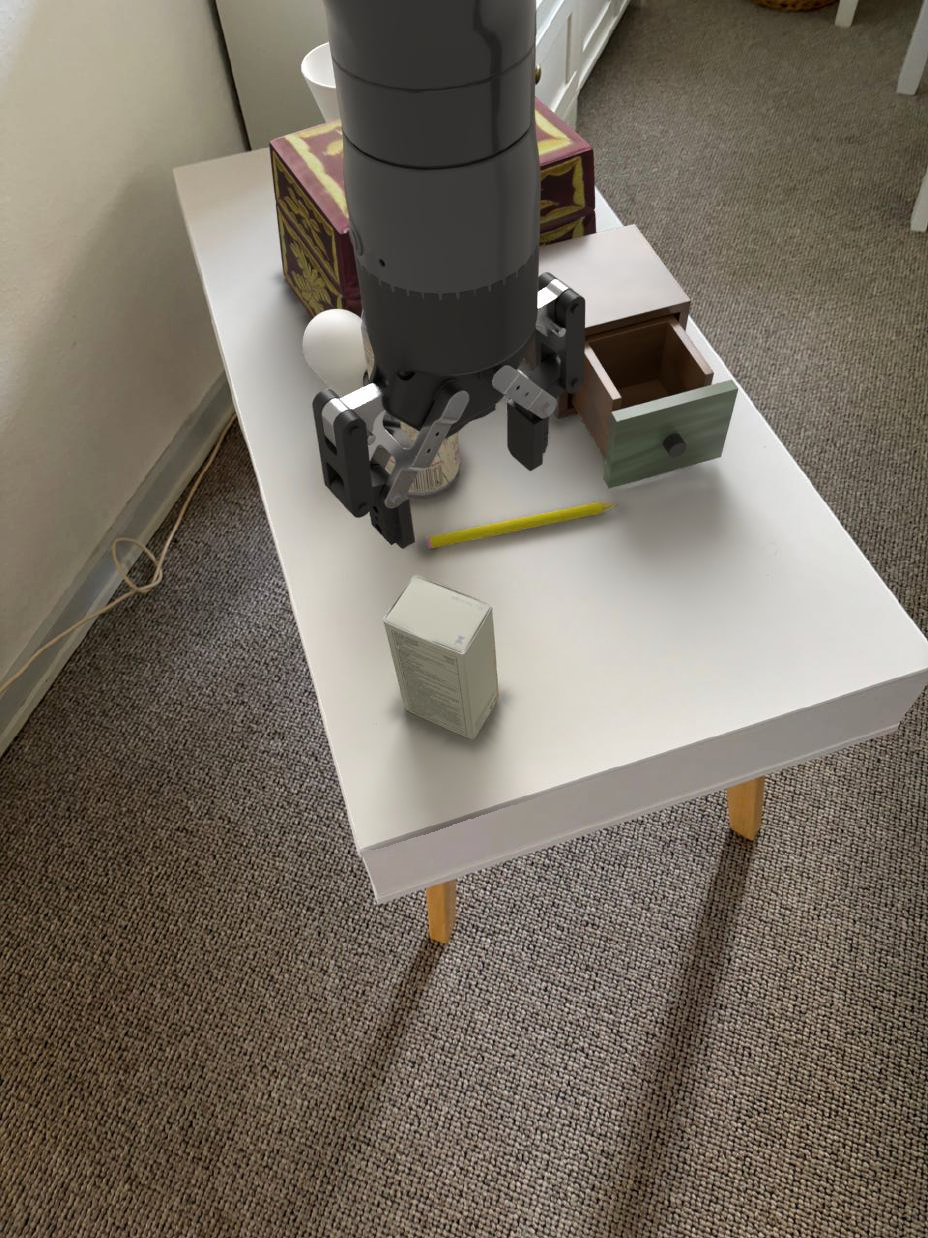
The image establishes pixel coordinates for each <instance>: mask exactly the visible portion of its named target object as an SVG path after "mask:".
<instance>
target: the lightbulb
mask: <svg viewBox="0 0 928 1238" xmlns="http://www.w3.org/2000/svg"><path fill="white" fill-rule="evenodd" d="M361 324H362V319H361V318H360V317H358V316H357V315H356V314H354V313H352V312H350V311H347V310H343V309H331V310H327V311H324V312H321V313H320V314H318V315H317V316H315V317H314V318H312V319H311V320H310V322H309V323H308V324H307V325H306V328H305V329H304V332H303V333H304V334H303V337H302V353H303V356H304V359H305V361H306V364H307V365H308V367H309V368H310V369H311V370H312V371H313V372H314V373H315V374H316V375H317V377H319V378H321V379H322V380H323V382H324V383H325V385H326V387H327V389H331V390H333V391H334V392H335V393H336V394H337V395H338V396H339V397H340V398H342V397H344V396H346V395H349V394H351V393H353V392H355V391H357V390H359V389H361V388H363V387H364V376H365V375H364V373H365V371H366V369H367V364H366V358H365V351H364V345H363V339H362V332H361Z"/></svg>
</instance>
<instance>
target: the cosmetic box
mask: <svg viewBox="0 0 928 1238" xmlns="http://www.w3.org/2000/svg"><path fill="white" fill-rule="evenodd" d="M493 613H494V612H493V606H492V604H490V603H488V602H486V601H483V600H481V599H479V598H476V597H474V596H471V595H469V594H466V593H464V592H462V591H459V590H457V589H454V588H451V587H449V586H446V585H443V584H441V583H439V582H436V581H433V580H430V579H428V578H425V577H422V576H420V575H416V574H414V575H413V576H412V577H411V578H410V580H409V581H408V583H407V584H406V585H405V586H404V588H403V590H402V591H400V594H399V595H398V596H397V598H396V599H395V601H394V602H393V603H392V605H391V606H390V607H389V609H388V610H387V612H386V614H385V615H384V616H383V618H382V621H383V626H384V629H385V634H386V637H387V641H388V646H389V650H390V655H391V658H392V663H393V667H394V672H395V676H396V679H397V684H398V687H399V691H400V696H401V700H402V704H403V707H404V710H406V711H408V712H410V713H412V714H414V715H416V716H418V717H421V718H422V719H423V720H427V721H428V722H431V723H433V724H435V725H437V726H440V727H442V728H444V729H446V730H448V731H451V732H452V733H455V734H457V735H460V736H462V737H464V738H467V739H469V740H473V741H475V739H476V737H477V736H478V734H479V733H480V731H481V729H482V728H483V726H484V725H485V722H486V721H487V719H488V718H489V716H490V714H491V712H492V710H493V709H494V707H495V705H496V703H497V701H498V699H499V698H500V694H499V693H500V692H499V680H498V678H499V677H498V666H497V652H496V650H497V649H496V638H495V628H494V627H495V624H494V614H493Z"/></svg>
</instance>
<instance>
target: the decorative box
mask: <svg viewBox="0 0 928 1238" xmlns="http://www.w3.org/2000/svg"><path fill="white" fill-rule="evenodd" d="M535 122H536V136H537V143H538V150H539V160H540V173H541V194H540V239H539V247H541V246H545V245H549V244H553V243H558V242H562V241H566V240H570V239H574V238H578V237H582V236H587V235H591V234H595V233H597V215H596V182H595V180H596V179H595V177H596V176H595V154H594V148H593V147H592V145H590V144H589V143H588V142H587V141H586V139H584V138H583V137H582V136H581V135H579V134H578V133H577V132H576V131H575V129H573V128H572V127H570V126H569V124H567V123H566V122H565V121H564V120H563V119H562V118H560V116H558V115H557V114H556V113H555V112H554V111H553V110H551V108H550V107H548V105H546V104H545V103H543V101H542V100H541V99H539V98H538V97H537V96H536V95H535ZM268 146H269V147H268V148H269V157H270V166H271V173H272V174H271V175H272V185H273V193H274V201H275V211H276V221H277V231H278V239H279V247H280V249H279V250H280V258H281V267H282V273H283V277H284V279H286V282H287V283H288V285H289V286H290V288H291V289H292V290H293V292H294V294H295V295H296V296H297V298H298V300H299V301H300V302H301V303H302V305H303V306H304V308H305V309H306V311H307V312H308V314H309V315H310V317H311V318H312V319H313V318H314V317H315V316H317V315H318V314H320V313H321V312H324V311H327V310H331V309H343V310H347V311H350V312H352V313H354V314H356V315H357V316H358V317H360V318H361V315H362V311H363V306H362V300H361V293H360V287H359V281H358V274H357V268H356V261H355V255H354V249H353V245H352V242H351V239H350V235H349V217H348V210H347V204H346V197H345V189H344V176H343V137H342V123H341V118H340V119H336V120H333V121H330V122H327V123H326V122H324V123H320V124H317V125H314V126H310V127H307V128H304V129H301V130H298V131H294V132H292V133H288V134H286V135H282V136H279V137H276V138H274V139H272V140H269V143H268ZM366 375H367V376H368V370H367V369H366V371H365V373H364V376H366Z"/></svg>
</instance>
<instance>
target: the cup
mask: <svg viewBox="0 0 928 1238" xmlns="http://www.w3.org/2000/svg"><path fill="white" fill-rule="evenodd" d="M300 71H301V75H302V76H303V77H304V80H305V81H306V84H307V86H308V88H309V89H310V92H311V94H312V96H313V99H314V101H315V102H316V104H317V107H318V109H319V111H320V113H321V115H322V117H323V119H324V121H325V123H327V122H330V121H333V120H336V119H340V112H339V105H338V98H337V92H336V85H335V78H334V72H333V65H332V58H331V52H330V45H329V41H328V42H326V43H323V44H321V45H318V46H316V47H315V48H314V49H311V50H310V51H309V52H308V53H307V54H306V55H305V56H304V58H303V60H302V62H301V64H300Z"/></svg>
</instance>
